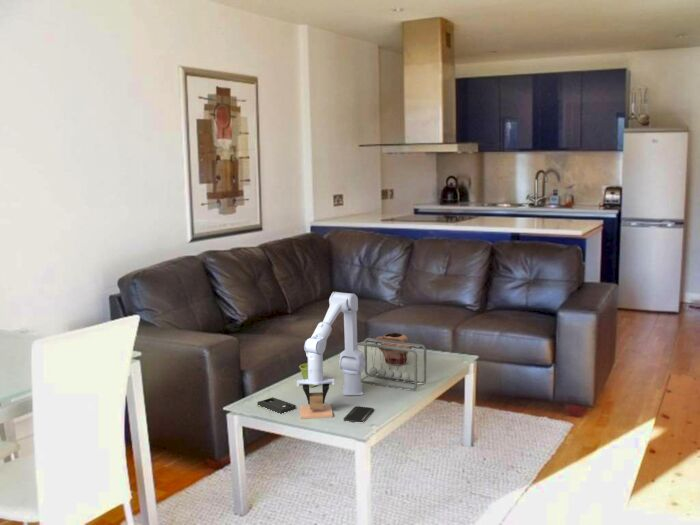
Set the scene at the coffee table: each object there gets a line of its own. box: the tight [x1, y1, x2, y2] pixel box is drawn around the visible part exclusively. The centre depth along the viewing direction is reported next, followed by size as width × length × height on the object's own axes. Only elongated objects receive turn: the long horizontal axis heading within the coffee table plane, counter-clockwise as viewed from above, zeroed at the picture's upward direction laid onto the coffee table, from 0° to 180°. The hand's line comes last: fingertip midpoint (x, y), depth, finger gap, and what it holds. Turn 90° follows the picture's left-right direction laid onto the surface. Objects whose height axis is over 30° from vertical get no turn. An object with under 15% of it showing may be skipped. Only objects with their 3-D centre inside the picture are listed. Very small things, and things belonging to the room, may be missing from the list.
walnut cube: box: [309, 391, 324, 410], centre depth 278 cm, size 5×5×5 cm
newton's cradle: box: [357, 337, 427, 391], centre depth 313 cm, size 30×10×18 cm, turn 60°
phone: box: [343, 405, 375, 423], centre depth 275 cm, size 8×1×15 cm
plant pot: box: [298, 362, 319, 388], centre depth 312 cm, size 9×9×9 cm
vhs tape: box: [257, 396, 297, 415], centre depth 285 cm, size 14×8×2 cm, turn 46°
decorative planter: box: [374, 332, 413, 366], centre depth 344 cm, size 20×12×14 cm, turn 62°
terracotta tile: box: [300, 404, 334, 420], centre depth 279 cm, size 12×12×1 cm
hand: (316, 403), depth 278 cm, fingers closed on walnut cube, 5 cm apart
